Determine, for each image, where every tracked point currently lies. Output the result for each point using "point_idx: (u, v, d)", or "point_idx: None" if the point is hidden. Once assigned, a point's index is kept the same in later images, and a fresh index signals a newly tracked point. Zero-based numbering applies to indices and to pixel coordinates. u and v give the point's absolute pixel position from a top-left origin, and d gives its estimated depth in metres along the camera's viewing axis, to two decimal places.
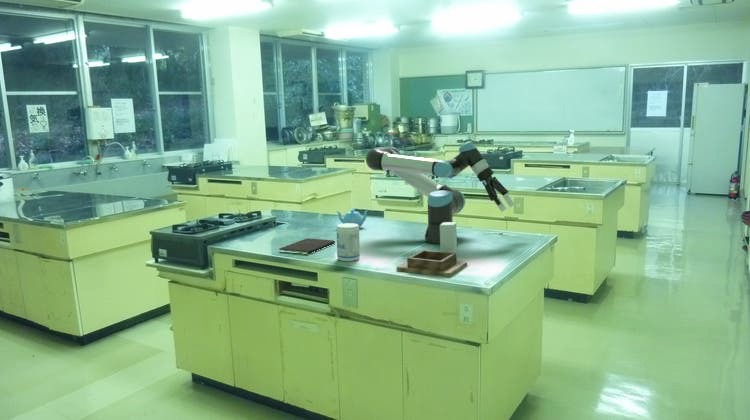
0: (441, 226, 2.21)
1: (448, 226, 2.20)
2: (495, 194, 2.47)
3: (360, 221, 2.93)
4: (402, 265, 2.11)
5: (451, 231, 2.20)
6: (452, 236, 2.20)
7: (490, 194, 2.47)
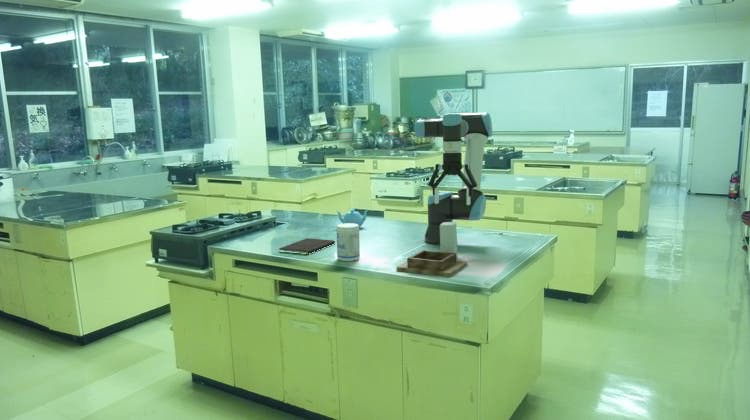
0: (441, 226, 2.21)
1: (448, 226, 2.20)
2: (433, 184, 2.24)
3: (360, 221, 2.93)
4: (402, 265, 2.11)
5: (451, 231, 2.20)
6: (452, 236, 2.20)
7: None
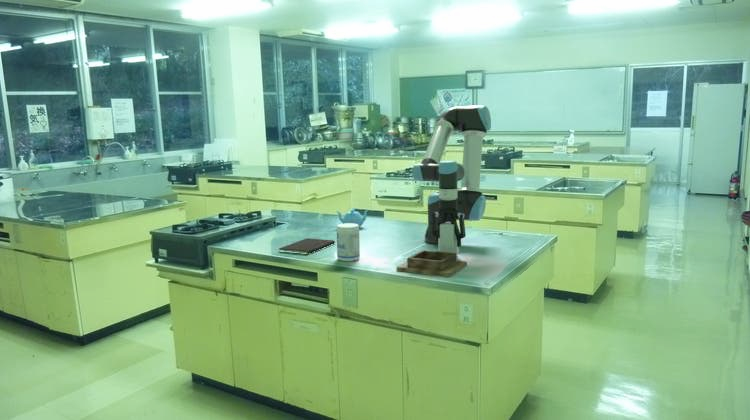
0: (441, 226, 2.21)
1: (448, 226, 2.20)
2: (436, 234, 2.26)
3: (360, 221, 2.93)
4: (402, 265, 2.11)
5: (451, 231, 2.20)
6: (452, 236, 2.20)
7: None
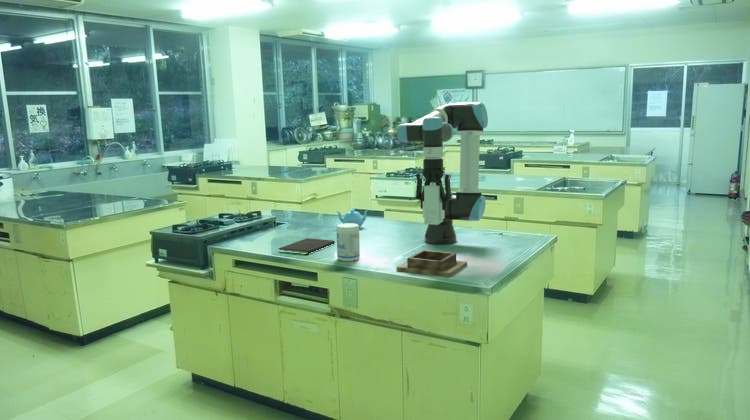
0: (426, 187, 2.05)
1: (433, 187, 2.04)
2: (420, 197, 2.10)
3: (360, 221, 2.93)
4: (402, 265, 2.11)
5: (436, 193, 2.04)
6: (437, 198, 2.04)
7: None
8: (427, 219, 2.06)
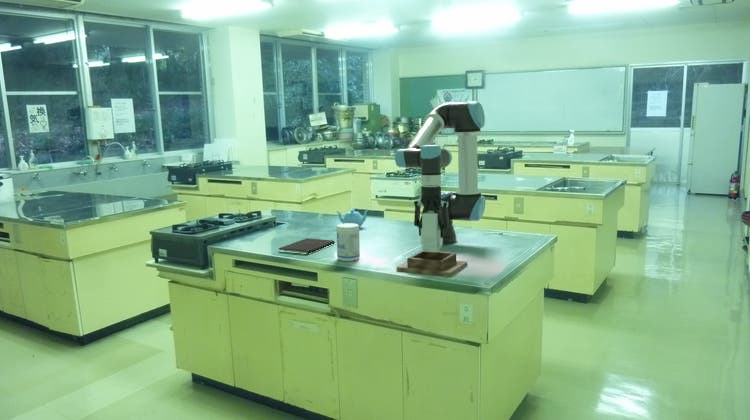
0: (424, 215, 2.05)
1: (431, 215, 2.04)
2: (419, 224, 2.10)
3: (360, 221, 2.93)
4: (402, 265, 2.11)
5: (434, 221, 2.04)
6: (435, 226, 2.04)
7: None
8: (425, 246, 2.06)
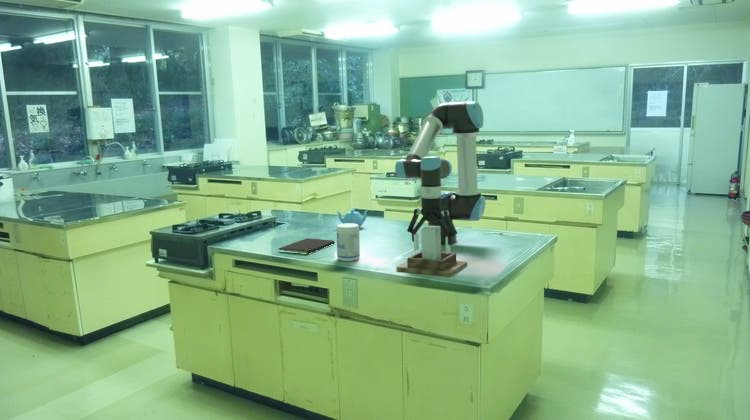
0: (423, 230, 2.06)
1: (430, 230, 2.05)
2: (412, 230, 2.12)
3: (360, 221, 2.93)
4: (402, 265, 2.11)
5: (433, 235, 2.05)
6: (434, 241, 2.05)
7: None
8: None
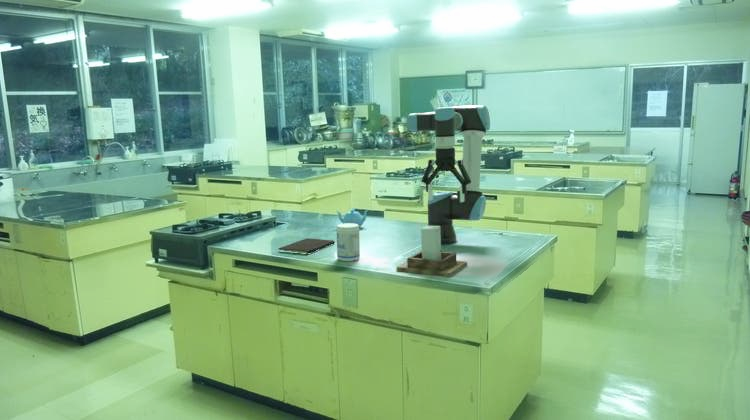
0: (423, 230, 2.06)
1: (430, 230, 2.05)
2: (426, 180, 2.17)
3: (360, 221, 2.93)
4: (402, 265, 2.11)
5: (433, 235, 2.05)
6: (434, 241, 2.05)
7: None
8: None
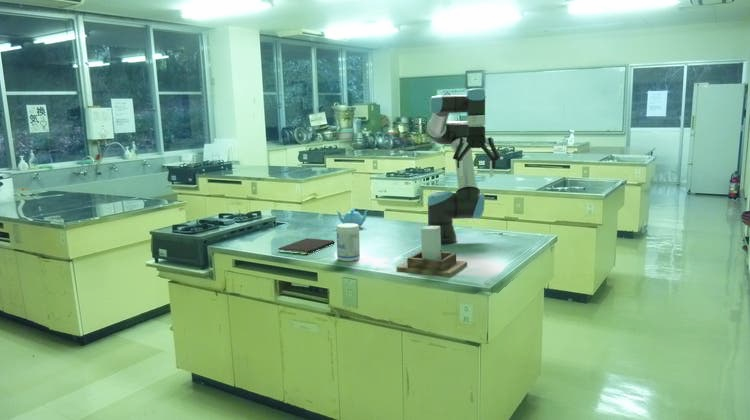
0: (423, 230, 2.06)
1: (430, 230, 2.05)
2: (458, 157, 2.34)
3: (360, 221, 2.93)
4: (402, 265, 2.11)
5: (433, 235, 2.05)
6: (434, 241, 2.05)
7: None
8: None
